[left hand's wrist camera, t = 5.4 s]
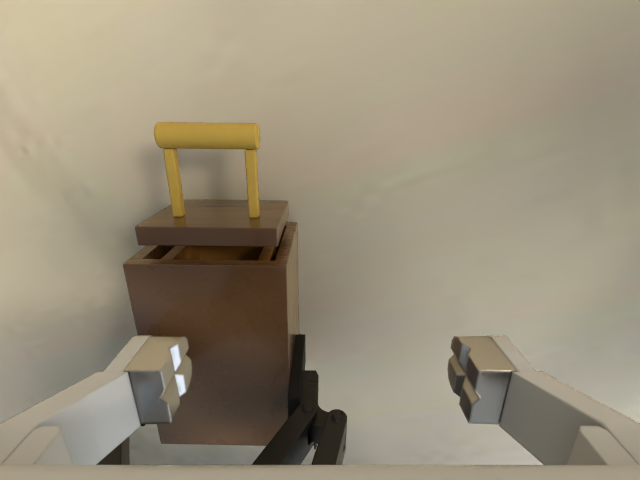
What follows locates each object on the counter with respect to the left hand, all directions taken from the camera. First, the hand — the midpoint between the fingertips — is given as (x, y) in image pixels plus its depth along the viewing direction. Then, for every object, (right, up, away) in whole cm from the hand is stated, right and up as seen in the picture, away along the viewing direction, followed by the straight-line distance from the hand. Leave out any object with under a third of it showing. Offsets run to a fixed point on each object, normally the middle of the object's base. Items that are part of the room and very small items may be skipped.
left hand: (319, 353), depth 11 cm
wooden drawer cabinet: (-7, -2, +20) cm, 21 cm away
